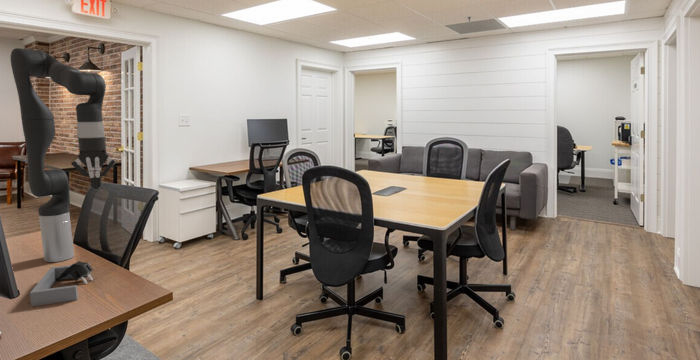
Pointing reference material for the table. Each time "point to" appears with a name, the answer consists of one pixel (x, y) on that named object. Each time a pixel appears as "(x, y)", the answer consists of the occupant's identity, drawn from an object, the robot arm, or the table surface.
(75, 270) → the power plug
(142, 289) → the table surface
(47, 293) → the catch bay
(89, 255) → the table surface
